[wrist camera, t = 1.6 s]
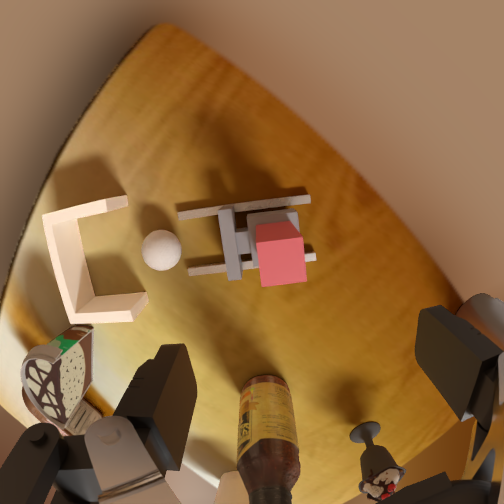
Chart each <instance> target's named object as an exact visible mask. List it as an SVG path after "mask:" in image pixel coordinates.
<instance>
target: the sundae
mask: <svg viewBox="0 0 504 504" xmlns="http://www.w3.org/2000/svg"><path fill="white" fill-rule="evenodd" d="M379 431H380V425H379V424H378V423H375V422H368V423H364V424H362V425H360V426H358V427H356V428H355V429H354V430H353V431H352V432H351V435H350V439H351V441H353V442H355V443H364V442H365V444H366V447H367V448H366V450H365V451H364V452H363V454H362V455H361V458H360V460H361V471H362V481H361V482H360V483H359V490H360V492H362V493H368V494H367V498H368V499H370V500H373V501H377V502H380V501H381V500H382V499H385V498H387V497H389V496H391V495H392V494H394V493H395V492H394V491H395V489H396V486H397V483H398V482H399V481H400V480H401V478H402V477H403V475H404V474H405V472H406V469H404V468H402V467H400V466H398V465H397V464H396V462H395V461H394V459H393V458H392V456H391V454H390V453H389V452H388V451H387V449H386V448H385V447H383V446H379V445H374V444H373V441H372V439H373V438H374V437H375V436H377V434H378V433H379Z"/></svg>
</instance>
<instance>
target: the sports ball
mask: <svg viewBox="0 0 504 504" xmlns="http://www.w3.org/2000/svg"><path fill="white" fill-rule="evenodd" d="M141 251H142V257H143V259H144V261H145V263H146V264H147V265H148V266H149V267H151V268H153V269H155V270H160V271H163V270H168V269H170V268H172V267H173V266H175V265H176V264H177V262H178V261H179V259H180V256H181V244H180V241H179V240H178V238H177V237H176V236H175V235H174V234H173V233H171V232H169V231H167V230H156V231H153V232H151V233H150V234H149V235H148V236H147V237H146V238H145V239H144V241H143V244H142V249H141Z"/></svg>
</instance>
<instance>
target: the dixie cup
mask: <svg viewBox="0 0 504 504" xmlns="http://www.w3.org/2000/svg"><path fill="white" fill-rule="evenodd" d="M214 504H249V495H248V493H247V490H246V488H245V486H244V483H243V481H242V479H241V476H240V474H239V472H238V471H230V472H226V473H224V474H223V475H222V476H221V479H220V483H219V486H218V490H217V493H216V497H215V501H214Z"/></svg>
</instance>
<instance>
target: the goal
mask: <svg viewBox="0 0 504 504" xmlns="http://www.w3.org/2000/svg"><path fill="white" fill-rule="evenodd" d="M127 206H128V200H127V195H123V196H118V197H112V198H107V199H103V200H98V201H94V202H90V203H86V204H82V205H78V206H74V207H70V208H66V209H62V210H58V211H55V212H51V213H47V214H44V215H42V219H43V224H44V230H45V235H46V239H47V244H48V248H49V253H50V257H51V261H52V265H53V269H54V273H55V276H56V280H57V283H58V287H59V290H60V294H61V297H62V300H63V303H64V307H65V310H66V313H67V316H68V319H69V321H70V324H85V323H112V322H131V321H134V320H135V319H136V317H137V316H138V315H139V314H140V312H141V311H142V310H143V309H144V307H145V306H146V305H147V303H148V302H149V300H148V296H147V292H139V293H128V294H117V295H106V296H95V293H94V290H93V286H92V283H91V279H90V275H89V271H88V267H87V263H86V259H85V255H84V251H83V246H82V241H81V237H80V232H79V227H78V222H77V218H82V217H86V216H91V215H95V214H100V213H104V212H109V211H112V210H116V209H119V208H123V207H127Z"/></svg>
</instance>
